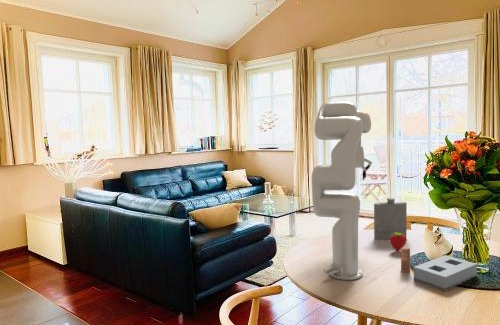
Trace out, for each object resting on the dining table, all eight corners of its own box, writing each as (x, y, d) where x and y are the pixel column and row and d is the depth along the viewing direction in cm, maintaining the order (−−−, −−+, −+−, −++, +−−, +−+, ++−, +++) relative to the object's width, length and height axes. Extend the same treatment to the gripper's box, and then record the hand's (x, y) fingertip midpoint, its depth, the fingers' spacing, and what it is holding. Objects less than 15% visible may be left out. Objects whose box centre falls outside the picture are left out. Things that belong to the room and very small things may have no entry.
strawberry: (409, 252, 172) (409, 230, 171) (393, 254, 170) (393, 231, 169) (402, 248, 178) (402, 226, 176) (386, 250, 176) (386, 228, 175)
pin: (406, 273, 149) (406, 250, 148) (399, 270, 152) (399, 248, 151) (411, 271, 151) (411, 248, 150) (404, 269, 154) (404, 246, 153)
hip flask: (404, 236, 195) (404, 196, 193) (408, 238, 191) (408, 198, 189) (373, 238, 194) (373, 198, 192) (376, 240, 190) (376, 200, 188)
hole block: (445, 291, 133) (445, 277, 132) (413, 280, 143) (413, 266, 142) (476, 277, 144) (477, 263, 143) (445, 267, 154) (445, 255, 153)
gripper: (334, 144, 185) (334, 180, 186) (372, 143, 181) (372, 180, 182) (334, 143, 192) (334, 178, 194) (371, 142, 188) (371, 178, 190)
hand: (353, 179), depth 188 cm, fingers open, 9 cm apart
